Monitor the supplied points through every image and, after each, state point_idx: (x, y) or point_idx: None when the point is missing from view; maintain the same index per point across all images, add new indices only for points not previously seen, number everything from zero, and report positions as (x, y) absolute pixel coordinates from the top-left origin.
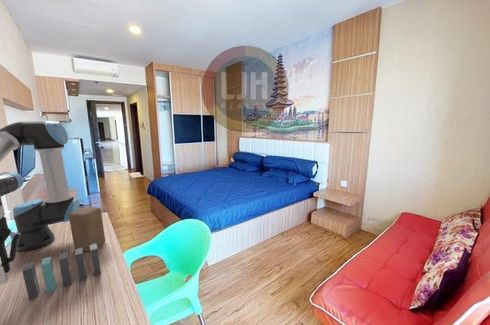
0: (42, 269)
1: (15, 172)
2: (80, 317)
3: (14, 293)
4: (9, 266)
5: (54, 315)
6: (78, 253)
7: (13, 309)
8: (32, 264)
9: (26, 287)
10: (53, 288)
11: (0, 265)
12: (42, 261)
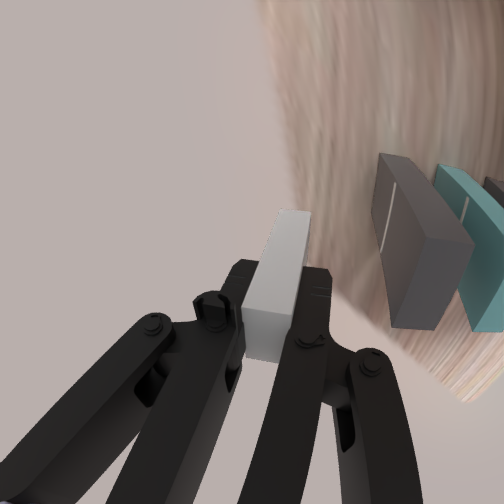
0: (466, 308)
1: None
2: (432, 366)
3: (315, 108)
4: (329, 301)
5: (406, 334)
6: None
7: (324, 230)
8: (456, 287)
9: (380, 248)
10: None
11: (267, 341)
12: (499, 290)
